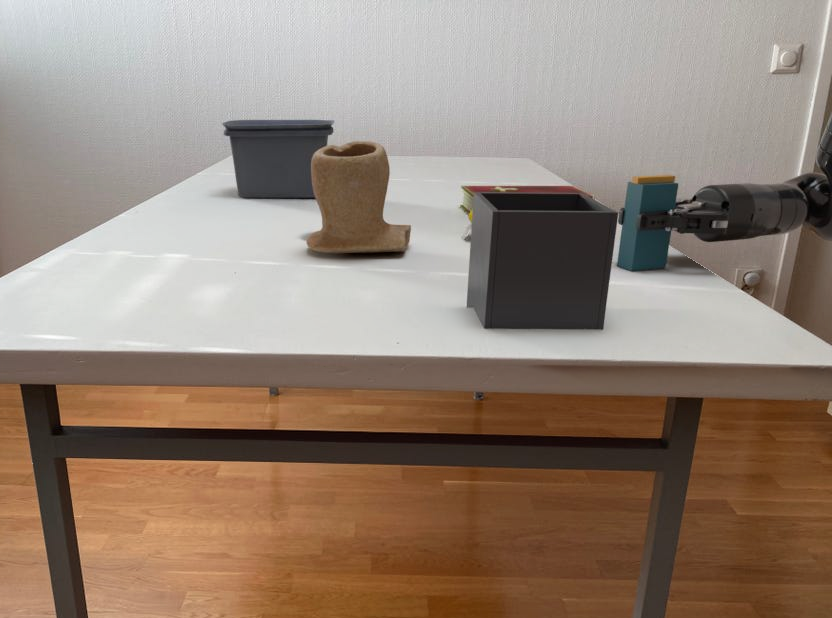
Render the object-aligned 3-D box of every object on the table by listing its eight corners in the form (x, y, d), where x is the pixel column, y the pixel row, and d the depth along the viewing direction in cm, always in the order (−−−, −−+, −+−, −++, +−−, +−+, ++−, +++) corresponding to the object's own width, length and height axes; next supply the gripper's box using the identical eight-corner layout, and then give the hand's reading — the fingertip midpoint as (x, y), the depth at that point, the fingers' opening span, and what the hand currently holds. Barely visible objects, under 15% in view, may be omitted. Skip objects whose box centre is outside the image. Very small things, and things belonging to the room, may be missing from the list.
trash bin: (569, 310, 84) (583, 192, 79) (601, 345, 73) (618, 212, 69) (466, 310, 84) (473, 191, 79) (483, 344, 73) (492, 211, 69)
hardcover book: (592, 218, 135) (595, 194, 134) (473, 219, 134) (475, 194, 132) (570, 206, 146) (572, 184, 145) (460, 207, 145) (461, 184, 143)
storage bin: (222, 200, 149) (218, 122, 144) (234, 188, 164) (231, 117, 159) (333, 201, 149) (333, 124, 144) (335, 189, 164) (335, 118, 159)
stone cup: (305, 263, 103) (304, 146, 98) (306, 243, 114) (305, 137, 109) (419, 262, 104) (424, 146, 98) (409, 243, 115) (413, 138, 109)
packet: (651, 262, 105) (664, 173, 101) (666, 268, 102) (680, 176, 98) (615, 266, 103) (627, 175, 99) (630, 271, 100) (643, 178, 96)
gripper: (700, 177, 110) (598, 182, 104) (783, 191, 98) (672, 198, 92) (691, 229, 113) (592, 237, 107) (771, 250, 100) (663, 260, 95)
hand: (630, 219), depth 99 cm, fingers closed on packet, 3 cm apart
